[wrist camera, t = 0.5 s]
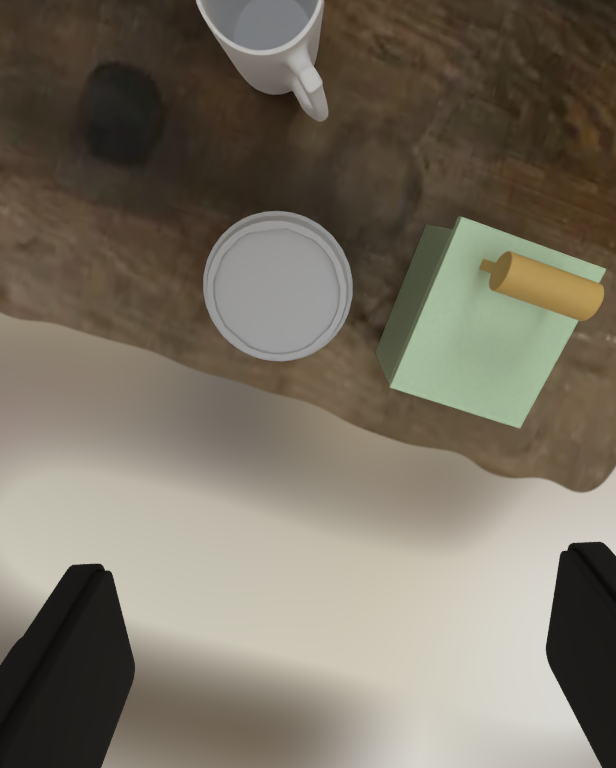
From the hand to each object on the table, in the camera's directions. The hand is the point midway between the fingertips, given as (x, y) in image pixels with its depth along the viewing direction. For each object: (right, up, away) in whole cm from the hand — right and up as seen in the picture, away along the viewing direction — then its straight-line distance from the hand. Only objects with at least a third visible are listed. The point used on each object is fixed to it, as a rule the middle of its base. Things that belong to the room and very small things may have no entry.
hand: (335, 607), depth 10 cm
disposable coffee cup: (-3, +15, +31) cm, 34 cm away
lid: (+12, +9, +24) cm, 29 cm away
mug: (-2, +28, +26) cm, 38 cm away
